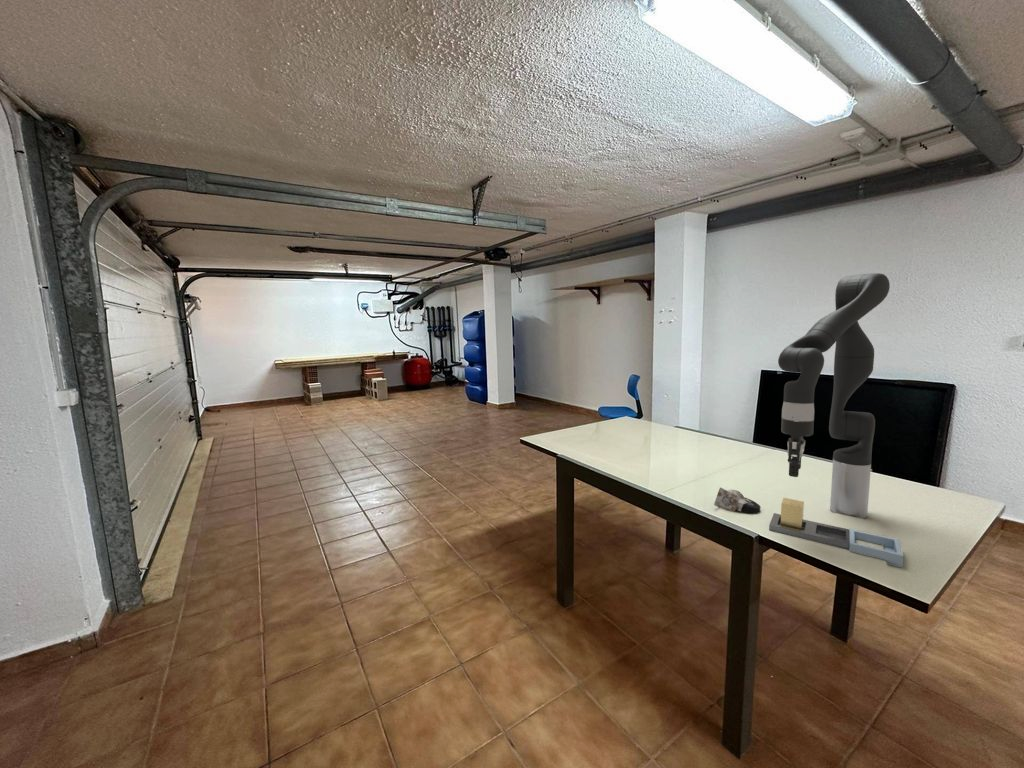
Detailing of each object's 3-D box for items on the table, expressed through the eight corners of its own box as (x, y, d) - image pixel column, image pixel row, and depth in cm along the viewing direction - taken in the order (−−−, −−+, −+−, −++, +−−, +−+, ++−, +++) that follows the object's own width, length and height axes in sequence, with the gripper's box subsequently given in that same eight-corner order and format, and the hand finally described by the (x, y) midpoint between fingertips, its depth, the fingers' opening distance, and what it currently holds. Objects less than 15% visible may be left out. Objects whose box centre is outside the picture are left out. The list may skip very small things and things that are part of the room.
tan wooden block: (782, 522, 120) (783, 497, 119) (802, 527, 117) (803, 501, 116) (780, 529, 116) (781, 503, 115) (801, 534, 113) (802, 507, 112)
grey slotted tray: (773, 520, 123) (773, 513, 123) (848, 537, 112) (849, 529, 112) (768, 533, 116) (769, 525, 116) (849, 552, 104) (849, 543, 104)
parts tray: (848, 539, 111) (849, 528, 111) (898, 550, 105) (898, 539, 104) (849, 554, 104) (849, 543, 103) (902, 567, 97) (903, 555, 97)
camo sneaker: (760, 519, 130) (747, 523, 124) (726, 501, 139) (712, 505, 133) (767, 500, 129) (754, 504, 123) (732, 484, 138) (719, 487, 132)
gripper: (784, 412, 120) (782, 464, 122) (778, 420, 109) (776, 476, 111) (815, 415, 116) (812, 468, 117) (812, 423, 105) (809, 482, 106)
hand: (794, 472), depth 114 cm, fingers open, 8 cm apart
